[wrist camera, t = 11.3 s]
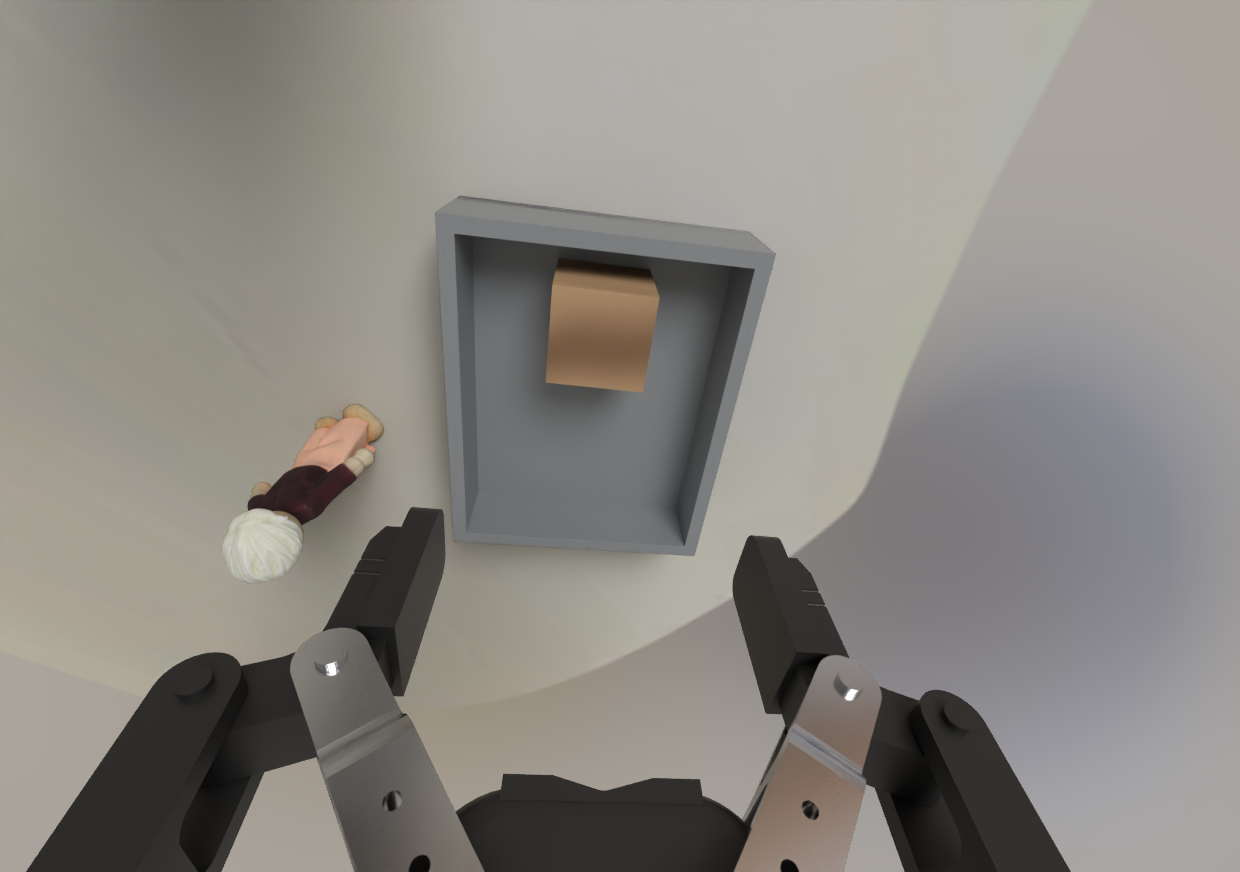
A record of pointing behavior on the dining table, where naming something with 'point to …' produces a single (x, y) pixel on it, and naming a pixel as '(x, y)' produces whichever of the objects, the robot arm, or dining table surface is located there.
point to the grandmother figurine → (299, 496)
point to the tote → (586, 416)
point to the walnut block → (601, 325)
